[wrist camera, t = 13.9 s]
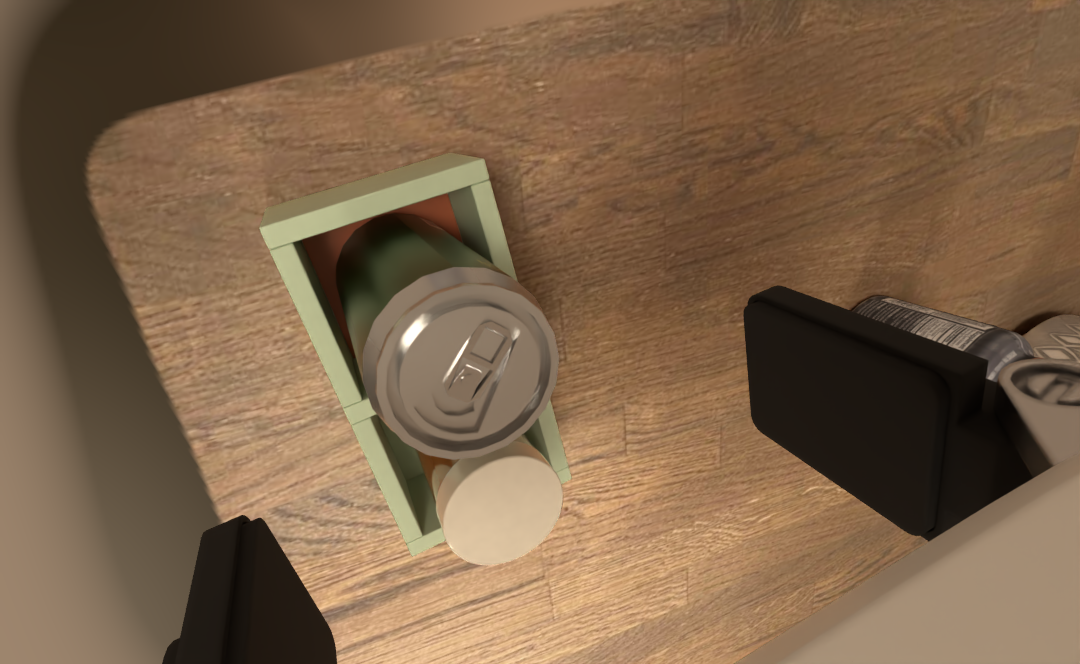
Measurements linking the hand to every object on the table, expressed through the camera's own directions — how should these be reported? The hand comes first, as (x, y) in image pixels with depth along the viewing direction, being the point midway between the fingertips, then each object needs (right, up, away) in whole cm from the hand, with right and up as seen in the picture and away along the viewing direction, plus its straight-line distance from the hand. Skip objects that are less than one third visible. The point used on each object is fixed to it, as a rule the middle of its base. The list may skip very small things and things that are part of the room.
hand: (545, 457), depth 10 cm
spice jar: (-5, -1, +18) cm, 19 cm away
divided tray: (-6, +2, +17) cm, 18 cm away
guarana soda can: (-6, +5, +15) cm, 17 cm away
